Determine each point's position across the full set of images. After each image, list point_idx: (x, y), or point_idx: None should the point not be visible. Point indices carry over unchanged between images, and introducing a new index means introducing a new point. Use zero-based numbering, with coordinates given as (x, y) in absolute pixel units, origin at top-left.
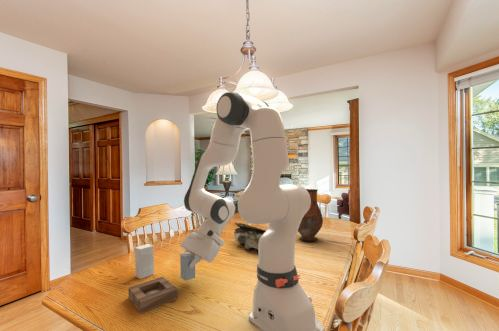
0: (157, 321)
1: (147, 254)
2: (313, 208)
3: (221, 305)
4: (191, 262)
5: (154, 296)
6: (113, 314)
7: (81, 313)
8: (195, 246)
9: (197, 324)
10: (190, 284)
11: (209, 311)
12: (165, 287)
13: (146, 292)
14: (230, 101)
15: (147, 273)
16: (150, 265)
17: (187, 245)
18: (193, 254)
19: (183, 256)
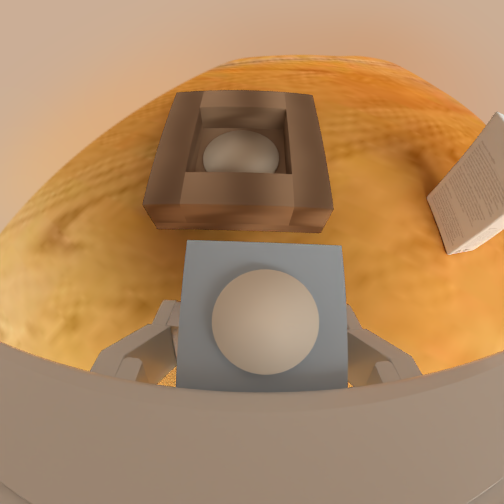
0: (111, 141)
1: (498, 171)
2: None
3: (15, 320)
4: (161, 320)
5: (169, 122)
6: (240, 84)
7: (298, 61)
8: (235, 490)
9: (22, 212)
10: None
11: (23, 270)
12: (204, 173)
13: (283, 150)
14: None
15: (443, 218)
16: (468, 218)
17: (466, 404)
18: (177, 376)
19: (244, 247)
